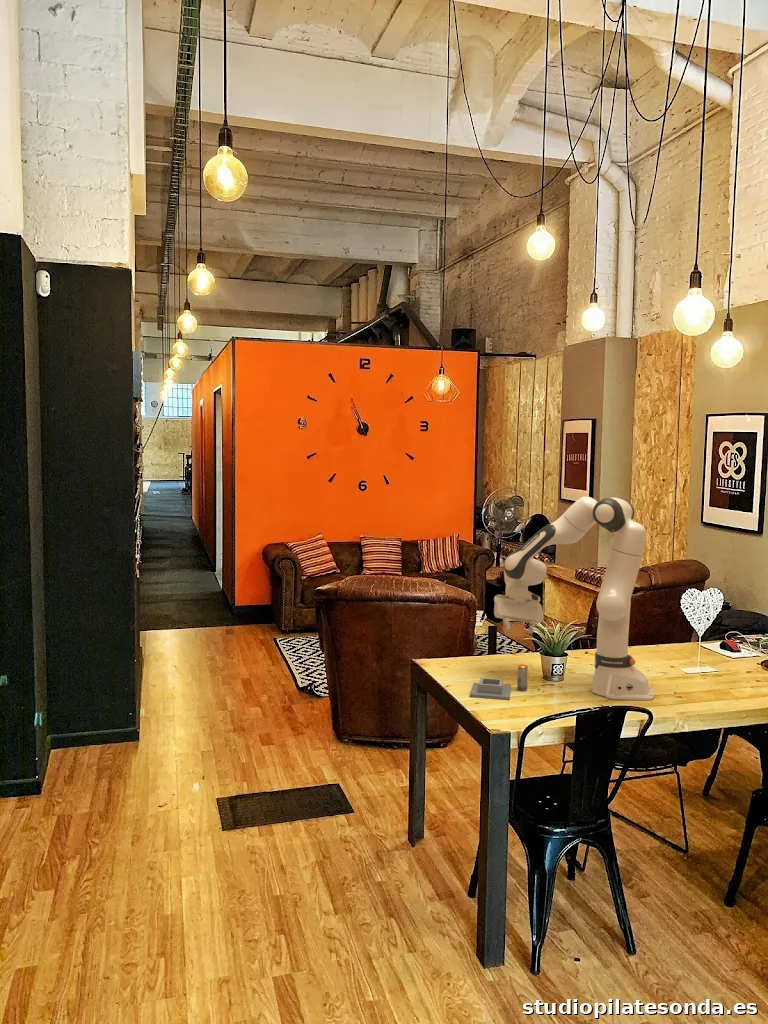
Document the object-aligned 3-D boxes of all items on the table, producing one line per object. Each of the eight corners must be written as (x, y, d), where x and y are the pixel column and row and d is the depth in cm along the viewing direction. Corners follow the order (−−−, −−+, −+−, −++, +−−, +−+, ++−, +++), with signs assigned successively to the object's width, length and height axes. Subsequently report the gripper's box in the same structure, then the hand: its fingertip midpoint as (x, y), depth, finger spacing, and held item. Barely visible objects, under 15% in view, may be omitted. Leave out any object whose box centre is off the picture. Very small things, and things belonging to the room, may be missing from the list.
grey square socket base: (511, 687, 289) (511, 677, 288) (509, 700, 275) (509, 689, 275) (473, 685, 292) (473, 674, 291) (469, 697, 278) (470, 686, 278)
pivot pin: (527, 688, 288) (527, 664, 287) (526, 691, 285) (527, 667, 284) (517, 687, 289) (517, 664, 288) (516, 690, 285) (517, 666, 285)
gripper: (497, 590, 297) (500, 625, 291) (543, 597, 304) (547, 631, 298) (489, 596, 303) (492, 630, 296) (535, 603, 309) (538, 636, 303)
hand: (520, 631), depth 297 cm, fingers open, 8 cm apart
